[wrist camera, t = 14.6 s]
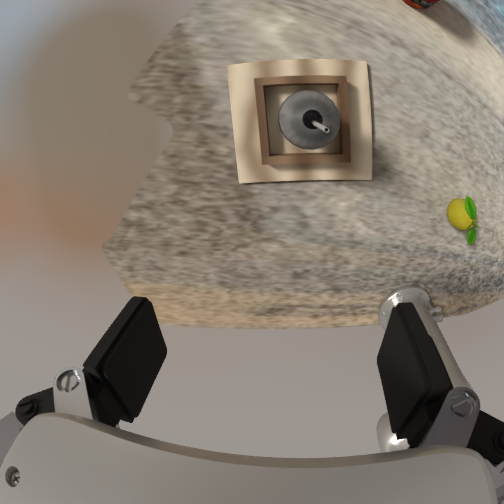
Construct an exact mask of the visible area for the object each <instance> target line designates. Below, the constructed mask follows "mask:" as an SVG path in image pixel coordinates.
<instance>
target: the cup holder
mask: <svg viewBox="0 0 504 504" xmlns="http://www.w3.org/2000/svg"><path fill="white" fill-rule="evenodd" d="M227 73H228V83H229V93H230V102H231V112H232V121H233V131H234V140H235V150H236V159H237V168H238V178H239V183H254V182H272V181H296V180H372V125H371V106H370V92H369V80H368V71H367V62H365V61H353V60H333V59H294V60H274V61H261V62H251V63H242V64H234V65H227ZM303 90H313V91H318V92H320V93H322V94H325V95H326V96H327V97H328V98H330V99H331V100H332V101H333V102H334V104H335V105H336V107H337V109H338V111H339V115H340V129H339V131H338V133H337V136H336V137H335V138H334V139H333V141H332V142H331V143H330V144H328V145H326V146H324V147H323V148H319V149H314V150H309V149H302V148H299V147H297V146H295V145H293V144H292V143H290V142H289V141H288V140H287V139H286V138H285V137H284V135H283V134H282V132H281V130H280V127H279V123H278V112H279V110H280V107H281V105H282V103H283V102H284V101H285V100H286V99H287V97H288V96H290V95H292V94H294V93H295V92H298V91H303Z"/></svg>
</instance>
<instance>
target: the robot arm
mask: <svg viewBox="0 0 504 504" xmlns="http://www.w3.org/2000/svg"><path fill="white" fill-rule="evenodd" d="M430 304H431V303H430V297H429V295H428V293H427V292H426V291H425V290H424V289H423V288H421V287H419V286H405V287H402V288H400V289H397V290H396V291H394V292H393V293H391V294H390V295H389V296H388V297H387V298H386V299H385V300H384V302H383V303H382V305H381V307H380V309H379V313H378V318H379V322H380V325H381V326H382V328H384V329H385V330H386V331H385V334H384V338H383V341H382V344H381V347H380V350H379V353H378V356H377V365H378V369H379V373H380V377H381V382H382V386H383V391H384V395H385V400H386V405H387V410H388V412H387V413H385V414H384V415H383V416H382V417H381V418H380V419H379V421H378V423H377V438H378V443H379V447H380V451H381V453H377V454H368V455H358V456H348V457H332V458H272V457H257V456H246V455H237V454H228V453H221V452H214V451H208V450H202V449H197V448H191V447H186V446H181V445H177V444H172V443H168V442H164V441H160V440H156V439H152V438H148V437H145V436H141V435H138V434H135V433H131V432H128V431H125V430H121V429H120V427H119V424H118V423H119V421H120V419H121V420H123V421H126V422H130V423H132V422H133V420H134V418H135V417H138V415H139V414H140V412H141V409H142V407H143V405H144V403H145V400H146V398H147V396H148V394H149V392H150V390H151V387H152V385H153V383H154V381H155V379H156V377H157V375H158V372H159V370H160V368H161V366H162V364H163V362H164V360H165V358H166V355H167V347H166V344H165V342H164V339H163V336H162V333H161V330H160V327H159V324H158V321H157V318H156V315H155V311H154V308H153V305H152V303H151V302H150V301H149V300H148V299H147V298H146V297H136V296H134V297H132V298H131V300H130V301H129V302H128V303H127V304H126V306H125V307H124V308H123V310H122V311H121V312H120V314H119V315H118V316H117V318H116V319H115V321H114V322H113V323H112V324H111V326H110V327H109V329H108V330H107V331H106V333H105V334H104V335H103V337H102V338H101V340H100V341H99V342H98V344H97V345H96V347H95V348H94V349H93V351H92V352H91V354H90V355H89V356H88V358H87V359H86V361H85V362H84V364H83V366H84V369H83V370H82V371H81V370H80V369H79V368H77V367H68V368H66V369H63V370H62V371H60V372H59V373H58V374H57V375H56V377H55V379H54V382H53V387H52V388H49V389H46V390H43V391H41V392H38V393H35V394H32V395H29V396H27V397H25V398H23V399H22V400H21V401H20V402H19V403H18V405H17V407H16V411H15V413H14V412H11V413H10V414H8V415H7V416H5V417H4V418H3V419H1V420H0V504H504V422H502V421H500V420H498V419H496V418H494V417H492V416H491V415H489V414H487V413H485V412H483V411H481V410H480V401H479V398H478V396H477V394H476V393H475V392H474V390H473V388H472V387H471V385H470V384H469V382H468V381H467V379H466V378H465V376H464V375H463V373H462V372H461V370H460V368H459V367H458V365H457V363H456V361H455V359H454V357H453V355H452V353H451V351H450V349H449V347H448V345H447V343H446V341H445V339H444V337H443V335H442V333H441V331H440V330H439V327H438V325H437V323H436V322H442V320H443V314H442V313H440V314H434V315H432V314H433V313H438V312H441V306H436V307H432V306H431V305H430Z"/></svg>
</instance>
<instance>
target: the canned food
mask: <svg viewBox="0 0 504 504" xmlns="http://www.w3.org/2000/svg"><path fill="white" fill-rule="evenodd" d="M403 1H404V2H405V3H407V4H408V5H410V6H412V7H415V8H421V9H423V8H428V7H430V6H431V5H433V4H435V3H436V2H438V1H439V0H403Z"/></svg>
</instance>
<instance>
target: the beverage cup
mask: <svg viewBox="0 0 504 504" xmlns="http://www.w3.org/2000/svg"><path fill="white" fill-rule="evenodd" d="M278 123H279V127H280V130H281V132H282V134H283V135H284V137H285V138H286V139H287V140H288V141H289V142H290V143H292V144H293V145H295V146H297V147H299V148H302V149H309V150H314V149H319V148H323V147H324V146H326V145H328V144H330V143H331V142H332V141H333V139H334V138H335V137H336V136H337V133H338V131H339V129H340V115H339V111H338V109H337V107H336V105H335V104H334V102H333V101H332V100H331V99H330V98H328V97H327V96H326V95H325V94H322V93H320V92H318V91H313V90H303V91H298V92H295V93H294V94H292V95H290V96H288V97H287V99H286V100H285V101H284V102H283V103H282V105H281V107H280V110H279V112H278Z"/></svg>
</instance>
